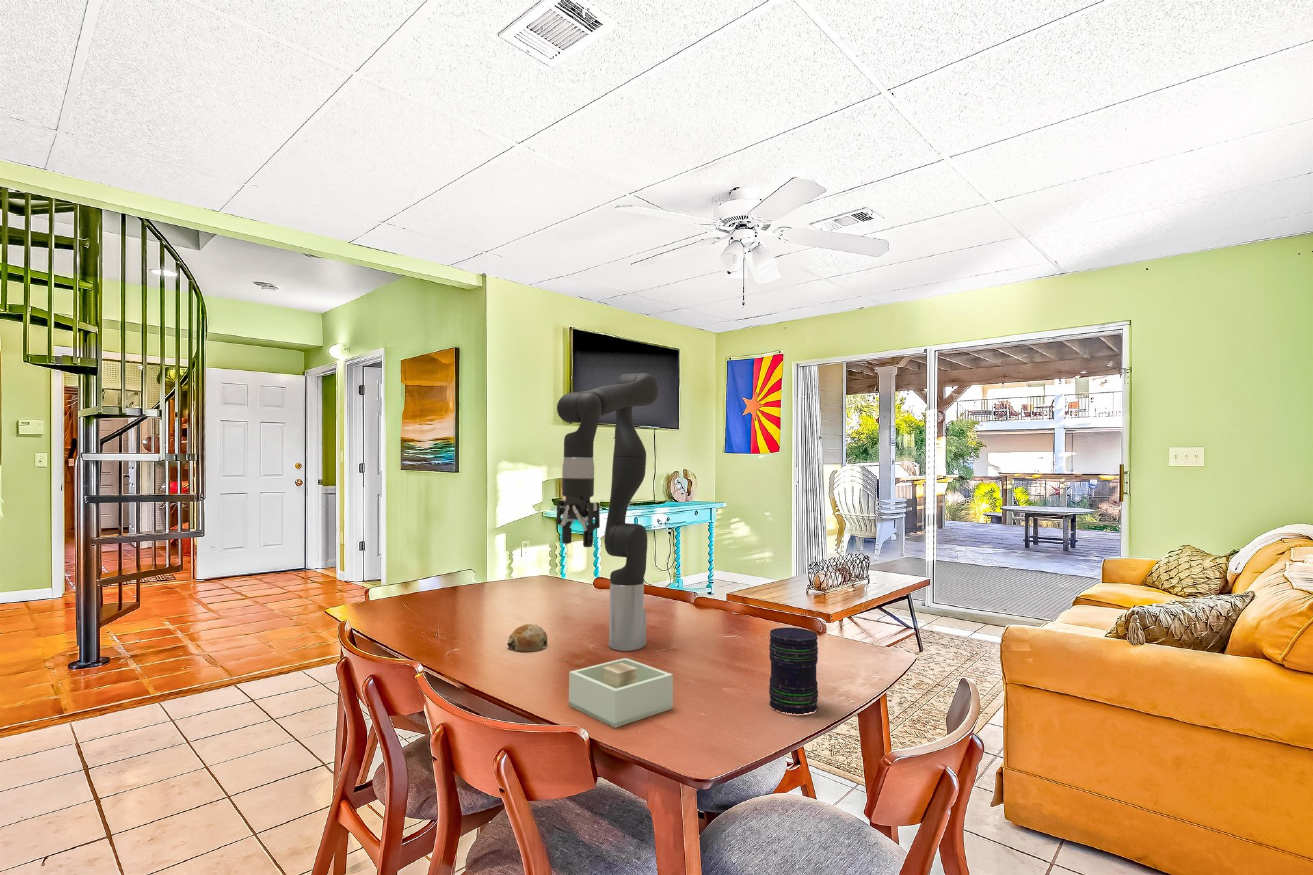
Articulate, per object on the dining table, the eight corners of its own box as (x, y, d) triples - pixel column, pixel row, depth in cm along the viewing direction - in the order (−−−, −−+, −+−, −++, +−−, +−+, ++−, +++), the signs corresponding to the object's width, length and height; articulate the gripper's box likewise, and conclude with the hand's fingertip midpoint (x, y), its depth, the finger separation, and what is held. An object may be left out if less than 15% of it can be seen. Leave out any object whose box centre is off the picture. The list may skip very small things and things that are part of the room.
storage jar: (774, 695, 139) (775, 625, 140) (821, 702, 136) (821, 630, 136) (764, 711, 130) (764, 636, 131) (813, 719, 126) (813, 642, 127)
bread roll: (535, 667, 169) (549, 639, 169) (500, 649, 169) (514, 621, 169) (543, 656, 179) (555, 629, 179) (509, 639, 179) (522, 613, 179)
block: (621, 696, 135) (621, 662, 136) (636, 703, 132) (637, 668, 132) (602, 702, 132) (602, 667, 132) (617, 709, 128) (618, 673, 129)
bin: (625, 689, 142) (625, 657, 143) (672, 708, 131) (672, 674, 132) (568, 705, 132) (569, 671, 132) (614, 728, 121) (615, 691, 121)
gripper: (609, 477, 151) (608, 547, 151) (573, 476, 162) (572, 541, 161) (583, 477, 146) (581, 549, 146) (548, 476, 157) (546, 543, 156)
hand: (577, 545), depth 153 cm, fingers open, 8 cm apart
